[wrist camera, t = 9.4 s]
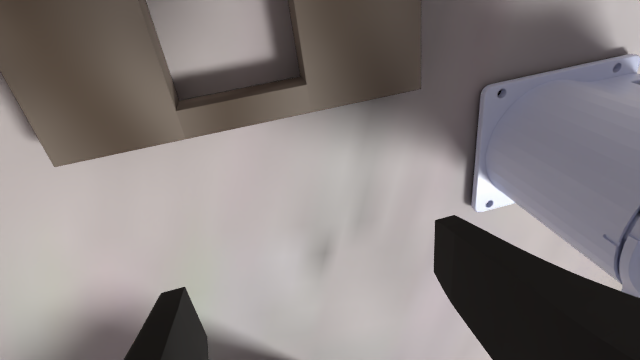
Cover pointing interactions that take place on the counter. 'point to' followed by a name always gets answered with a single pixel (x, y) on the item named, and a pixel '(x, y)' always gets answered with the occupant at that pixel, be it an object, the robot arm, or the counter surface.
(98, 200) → the counter surface
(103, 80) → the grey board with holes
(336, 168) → the counter surface
